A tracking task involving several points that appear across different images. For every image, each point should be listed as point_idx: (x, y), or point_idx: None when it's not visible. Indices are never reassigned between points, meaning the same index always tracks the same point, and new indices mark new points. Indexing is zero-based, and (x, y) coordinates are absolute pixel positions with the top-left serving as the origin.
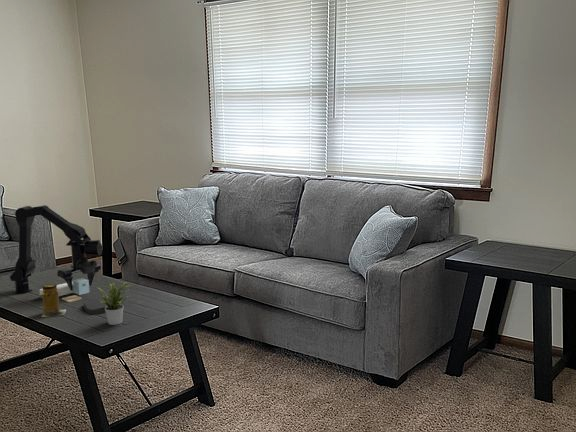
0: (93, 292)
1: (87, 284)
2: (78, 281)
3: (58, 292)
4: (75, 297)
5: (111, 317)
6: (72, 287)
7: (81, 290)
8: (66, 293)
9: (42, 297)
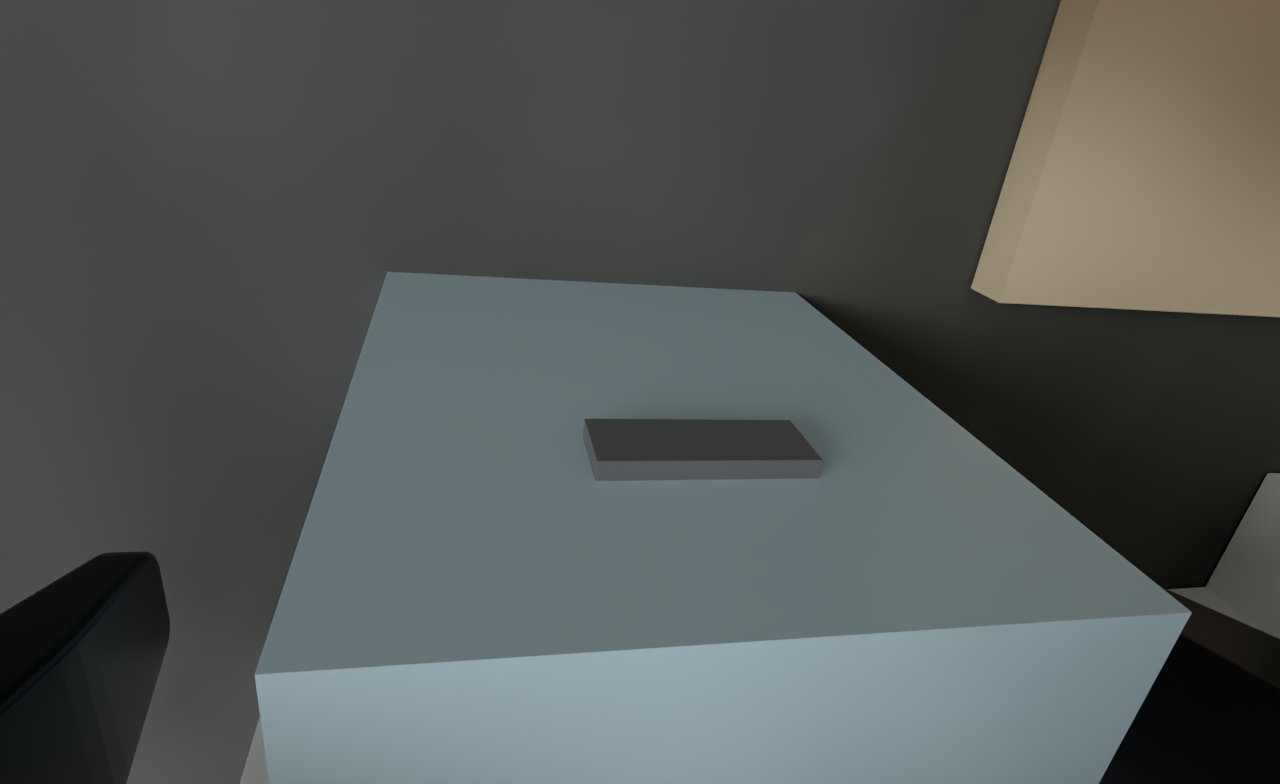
0: (278, 103)
1: (443, 440)
2: (1017, 772)
3: None
4: (1212, 13)
5: None
6: None
7: (759, 346)
8: None
9: None
